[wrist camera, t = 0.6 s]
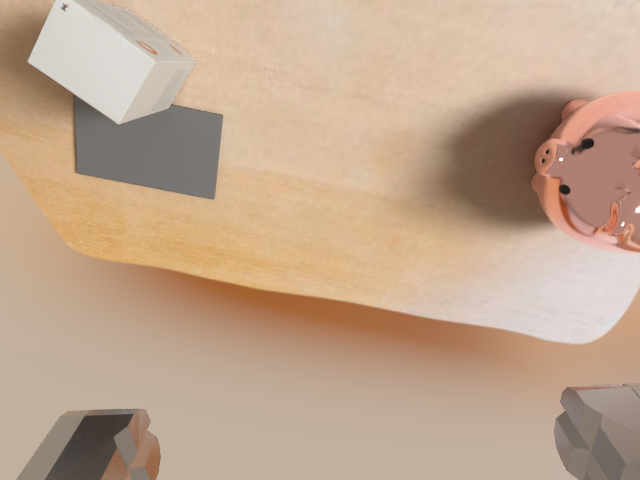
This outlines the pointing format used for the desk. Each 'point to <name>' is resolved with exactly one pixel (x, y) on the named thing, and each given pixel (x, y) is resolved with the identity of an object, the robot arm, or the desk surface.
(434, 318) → the desk surface
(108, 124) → the mat
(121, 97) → the small box
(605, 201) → the piggy bank
